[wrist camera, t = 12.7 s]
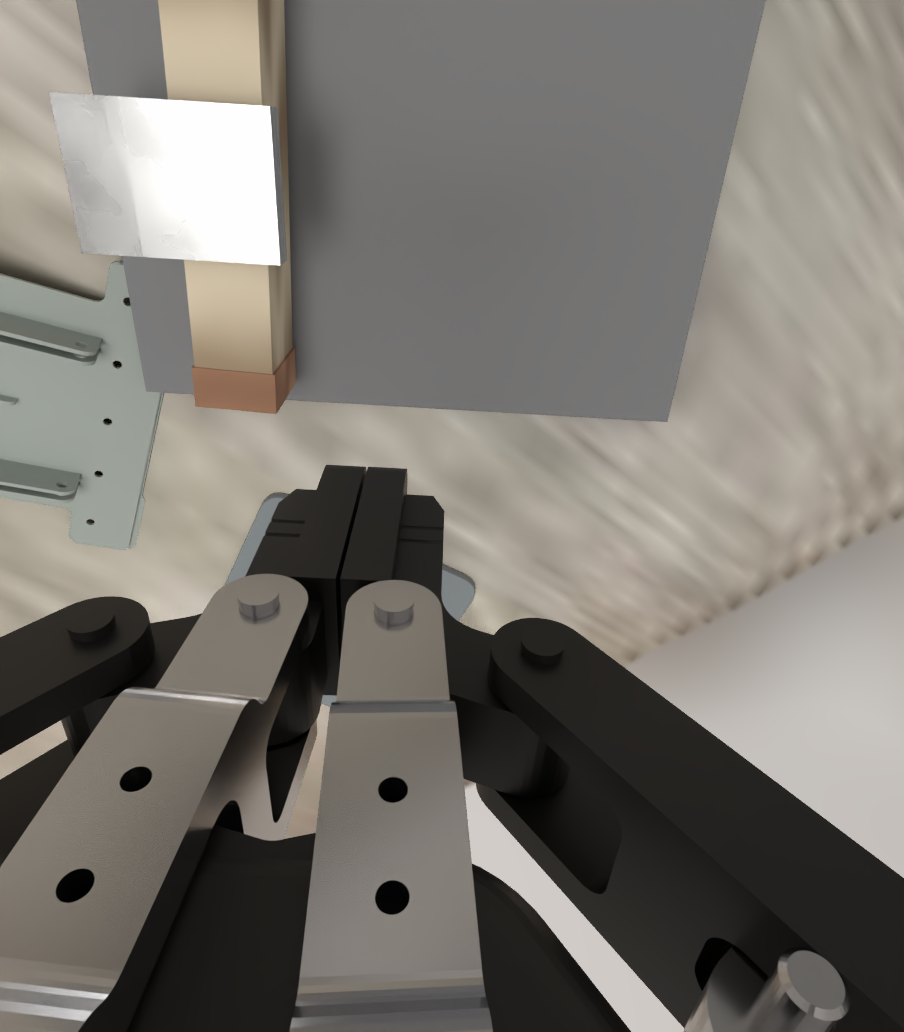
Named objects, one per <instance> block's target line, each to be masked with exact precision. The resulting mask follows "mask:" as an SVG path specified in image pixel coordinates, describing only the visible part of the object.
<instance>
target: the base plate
mask: <svg viewBox="0 0 904 1032" xmlns="http://www.w3.org/2000/svg"><path fill="white" fill-rule="evenodd" d="M76 2H77V8H78V13H79V19H80V24H81V30H82V36H83V41H84V47H85V52H86V58H87V64H88V69H89V75H90V80H91V86H92V92H93V95H105V96H120V97H135V98H150V99H165V100H168V95H167V85H166V75H165V65H164V55H163V45H162V35H161V25H160V15H159V5H158V0H76ZM764 4H765V0H284V16H285V57H286V98H287V139H288V180H289V221H290V263H291V304H292V345H293V348H295V364H296V384H295V385H294V387H293V388H292V390H291V392H290V393H289V395H288V396H287V398H286V399H285V400H299V401H316V402H333V403H351V404H368V405H385V406H402V407H419V408H436V409H453V410H470V411H488V412H505V413H522V414H539V415H556V416H573V417H590V418H607V419H624V420H642V421H659V422H667V421H668V416H669V412H670V408H671V403H672V399H673V395H674V391H675V386H676V382H677V378H678V373H679V369H680V365H681V361H682V356H683V352H684V348H685V343H686V339H687V335H688V330H689V326H690V322H691V318H692V313H693V309H694V305H695V300H696V296H697V292H698V288H699V283H700V279H701V275H702V270H703V266H704V262H705V258H706V253H707V249H708V245H709V240H710V236H711V232H712V228H713V223H714V219H715V215H716V210H717V206H718V202H719V197H720V193H721V189H722V185H723V180H724V176H725V172H726V167H727V163H728V159H729V155H730V150H731V146H732V142H733V137H734V133H735V129H736V125H737V120H738V116H739V112H740V107H741V103H742V99H743V94H744V90H745V86H746V82H747V77H748V73H749V69H750V64H751V60H752V56H753V52H754V47H755V43H756V39H757V34H758V30H759V26H760V22H761V17H762V13H763V9H764ZM122 259H123V265H124V271H125V276H126V282H127V287H128V293H129V299H130V304H131V310H132V315H133V321H134V327H135V332H136V338H137V343H138V349H139V355H140V360H141V366H142V371H143V377H144V383H145V388H146V392H162V393H179V394H194V386H193V377H192V366H194V356H193V346H192V336H191V326H190V316H189V306H188V296H187V286H186V276H185V266H184V260H183V259H166V258H150V257H134V256H122Z"/></svg>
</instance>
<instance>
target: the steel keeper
mask: <svg viewBox="0 0 904 1032" xmlns="http://www.w3.org/2000/svg"><path fill="white" fill-rule="evenodd" d="M49 97H50V101H51V106H52V111H53V116H54V121H55V126H56V130H57V135H58V140H59V145H60V150H61V155H62V160H63V164H64V169H65V174H66V179H67V184H68V189H69V193H70V198H71V203H72V208H73V213H74V218H75V222H76V227H77V232H78V237H79V242H80V247H81V252H82V253H86V254H102V255H118V256H134V257H150V258H166V259H183V260H199V261H215V262H231V263H247V264H263V265H279V266H280V265H282V264H283V263H284V262H286V261H287V250H286V234H285V218H284V202H283V186H282V170H281V154H280V138H279V122H278V107H271V106H256V105H241V104H226V103H211V102H196V101H181V100H165V99H150V98H135V97H120V96H105V95H90V94H75V93H60V92H49Z"/></svg>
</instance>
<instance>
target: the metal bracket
mask: <svg viewBox="0 0 904 1032" xmlns="http://www.w3.org/2000/svg"><path fill="white" fill-rule="evenodd" d="M126 297H127V298H129V293H128V287H127V282H126V276H125V271H124V265H123V262H121V261H115V262H113V263H112V264H111V266H110V268H109V274H108V281H107V287H106V294H105V298H104V299H102V300H100V301H97V300H92V299H89V298H85V297H82V296H78V295H75V294H71V293H68V292H64V291H61V290H57V289H54V288H50V287H47V286H43V285H40V284H36V283H33V282H29V281H26V280H22V279H19V278H15V277H12V276H8V275H5V274H1V273H0V498H6V499H12V500H18V501H24V502H30V503H36V504H42V505H48V506H54V507H60V508H65V509H68V510H69V511H70V512H71V514H72V516H71V523H70V529H69V537H70V539H72V541H73V542H75V543H78V544H84V545H91V546H98V547H105V548H111V549H118V550H126V549H129V548H132V547H133V546H134V545H135V544H136V540H137V536H138V531H139V527H140V522H141V518H142V513H143V509H144V504H145V499H144V498H143V495H142V493H143V488H144V484H145V479H146V474H147V469H148V465H149V460H150V455H151V450H152V446H153V441H154V436H155V431H156V427H157V422H158V417H159V412H160V408H161V403H162V398H163V393H162V392H146V388H145V383H144V377H143V371H142V366H141V360H140V355H139V349H138V343H137V338H136V332H135V327H134V321H133V315H132V310H131V305H127V304H125V302H124V298H126ZM114 361H120V362H121V363H122V366H121V367H116V366H115V365H114V364H113V362H114ZM105 418H109V419H111V421H112V423H110V424H107V423H105V422H104V419H105ZM96 471H101V472H102V473H103V475H96V473H95V472H96ZM88 519H92V520H94V523H89V522H88V521H87V520H88Z"/></svg>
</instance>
